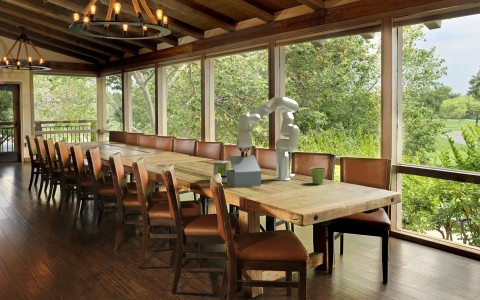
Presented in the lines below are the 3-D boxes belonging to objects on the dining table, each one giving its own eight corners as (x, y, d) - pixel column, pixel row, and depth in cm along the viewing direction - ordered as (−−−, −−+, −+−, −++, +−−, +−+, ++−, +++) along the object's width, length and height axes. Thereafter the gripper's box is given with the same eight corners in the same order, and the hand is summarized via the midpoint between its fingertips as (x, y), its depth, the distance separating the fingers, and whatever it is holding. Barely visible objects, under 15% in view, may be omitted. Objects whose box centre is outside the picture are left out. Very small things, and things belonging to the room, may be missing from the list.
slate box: (251, 182, 314) (252, 168, 313) (260, 185, 299) (261, 171, 298) (226, 183, 307) (226, 170, 306) (234, 187, 292) (234, 173, 291)
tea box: (226, 182, 311) (226, 162, 309) (213, 182, 313) (213, 162, 311) (230, 179, 325) (230, 160, 324) (218, 179, 327) (218, 160, 326)
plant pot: (329, 183, 310) (329, 168, 309) (320, 185, 301) (320, 169, 300) (315, 181, 318) (315, 166, 317) (306, 183, 309) (306, 168, 308)
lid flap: (253, 156, 309) (256, 148, 304) (260, 171, 298) (263, 163, 293) (228, 157, 302) (231, 149, 297) (234, 172, 291) (237, 164, 286)
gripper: (252, 130, 305) (252, 156, 307) (231, 131, 299) (231, 157, 301) (256, 131, 298) (256, 157, 300) (235, 131, 292) (235, 158, 294)
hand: (244, 157), depth 300 cm, fingers closed on lid flap
